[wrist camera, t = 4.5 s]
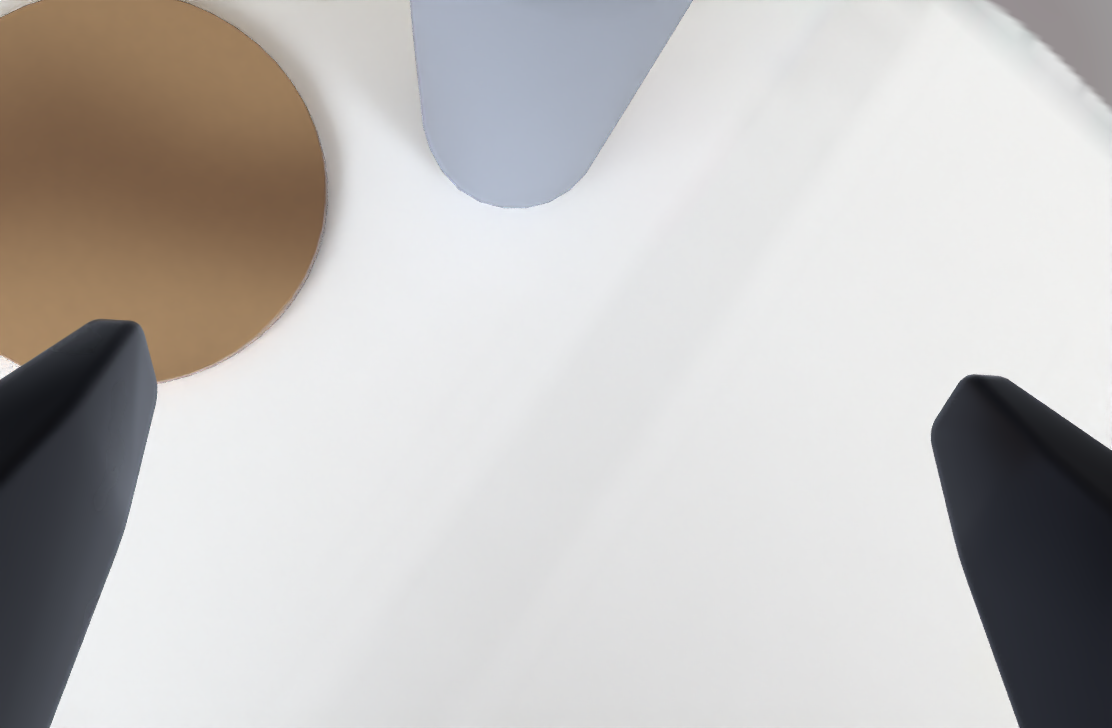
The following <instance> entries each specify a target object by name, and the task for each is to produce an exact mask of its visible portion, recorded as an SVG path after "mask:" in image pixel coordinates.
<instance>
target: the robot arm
mask: <svg viewBox="0 0 1112 728" xmlns="http://www.w3.org/2000/svg"><path fill="white" fill-rule="evenodd" d="M156 400H157V380H156V376H155V372H154V368H153V364H152V360H151V357H150V353H149V349H148V345H147V341H146V338H145V334H144V331H143V329H142V328H141V326H140V325H139V324H138V323H136V322H134V321H130V320H114V319H95V320H92V321H90V322H88V323H86V324H85V325H83V326H82V327H80V328H79V329H77V330H76V331H74V332H73V333H71V334H70V335H68V336H66V337H65V338H63V339H62V340H60V341H59V342H57V343H56V344H54V345H53V346H51V347H50V348H48V349H47V350H45V351H43V352H42V353H40V354H39V355H37V356H36V357H34V358H33V359H31V360H30V361H28V362H27V363H25V364H24V365H22V366H21V367H19V368H17V369H16V370H14V371H13V372H11V373H10V374H8V375H7V376H5V377H4V378H2V379H1V380H0V728H50V725H51V723H52V720H53V717H54V715H55V712H56V710H57V707H58V704H59V702H60V699H61V696H62V694H63V691H64V689H65V686H66V683H67V681H68V678H69V676H70V673H71V670H72V668H73V665H74V663H75V660H76V657H77V655H78V652H79V650H80V647H81V644H82V642H83V639H84V636H85V634H86V631H87V629H88V626H89V623H90V621H91V618H92V616H93V613H94V610H95V608H96V605H97V603H98V600H99V597H100V595H101V592H102V590H103V587H104V584H105V582H106V579H107V576H108V574H109V571H110V569H111V566H112V563H113V561H114V558H115V556H116V553H117V550H118V547H119V544H120V542H121V539H122V536H123V533H124V530H125V526H126V523H127V519H128V515H129V511H130V508H131V503H132V499H133V495H134V491H135V487H136V483H137V479H138V475H139V471H140V467H141V462H142V458H143V454H144V450H145V446H146V442H147V438H148V434H149V430H150V426H151V421H152V417H153V413H154V409H155V405H156ZM931 444H932V448H933V452H934V457H935V461H936V465H937V469H938V473H939V478H940V482H941V486H942V490H943V494H944V498H945V503H946V507H947V511H948V515H949V519H950V523H951V528H952V532H953V536H954V540H955V544H956V547H957V551H958V555H959V558H960V561H961V564H962V567H963V570H964V573H965V577H966V579H967V582H968V585H969V588H970V591H971V593H972V596H973V599H974V602H975V605H976V607H977V610H978V613H979V616H980V619H981V621H982V624H983V627H984V630H985V633H986V635H987V638H988V641H989V644H990V647H991V649H992V652H993V655H994V658H995V661H996V663H997V666H998V669H999V672H1000V674H1001V677H1002V680H1003V683H1004V686H1005V688H1006V691H1007V694H1008V697H1009V700H1010V702H1011V705H1012V708H1013V711H1014V714H1015V716H1016V719H1017V722H1018V725H1019V728H1112V451H1111V450H1110V449H1109V448H1107V447H1106V446H1104V445H1103V444H1101V443H1100V442H1098V441H1097V440H1095V439H1094V438H1093V437H1091V436H1090V435H1088V434H1087V433H1085V432H1084V431H1082V430H1081V429H1079V428H1078V427H1077V426H1075V425H1074V424H1072V423H1071V422H1069V421H1068V420H1066V419H1065V418H1064V417H1062V416H1061V415H1059V414H1058V413H1056V412H1055V411H1053V410H1052V409H1050V408H1049V407H1048V406H1046V405H1045V404H1043V403H1042V402H1040V401H1039V400H1037V399H1036V398H1034V397H1033V396H1032V395H1030V394H1029V393H1027V392H1026V391H1024V390H1023V389H1021V388H1020V387H1018V386H1017V385H1016V384H1014V383H1013V382H1011V381H1010V380H1008V379H1006V378H1004V377H1001V376H991V375H976V374H974V375H968V376H966V377H965V378H963V379H962V380H961V381H960V382H959V383H958V385H957V386H956V388H955V389H954V391H953V392H952V394H951V396H950V397H949V399H948V400H947V402H946V403H945V405H944V407H943V408H942V410H941V411H940V413H939V414H938V416H937V418H936V419H935V421H934V423H933V426H932V430H931Z"/></svg>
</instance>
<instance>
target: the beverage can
mask: <svg viewBox="0 0 1112 728" xmlns="http://www.w3.org/2000/svg"><path fill="white" fill-rule="evenodd" d="M692 1H693V0H410V7H411V18H412V29H413V39H414V48H415V57H416V66H417V75H418V83H419V92H420V102H421V111H422V121H423V128H424V131H425V134H426V137H427V141H428V144H429V147H430V150H431V152H432V154H433V155H434V157H435V159H436V161H437V163H438V165H439V166H440V168H441V170H442V172H443V173H444V174H445V175H446V176H447V177H448V178H449V179H450V180H451V181H452V183H453V184H454V185H455V186H456V187H457V188H458V189H459V190H461V191H462V192H464V193H466V194H467V195H469V196H471V197H473V198H474V199H476V200H478V201H479V202H483V203H486V204H490V205H494V206H498V207H501V208H529V207H532V206H536V205H540V204H544V203H547V202H550V201H552V200H554V199H556V198H557V197H559V196H561V195H562V194H564V193H566V192H567V191H569V190H570V189H571V188H572V187H573V186H574V185H575V184H576V183H577V182H578V181H579V180H580V179H581V178H582V177H583V176H584V175H585V174H586V173H587V171H588V169H589V168H590V166H591V164H592V163H593V161H594V160H595V158H596V156H597V155H598V153H599V152H600V150H601V148H602V147H603V145H604V143H605V142H606V140H607V139H608V137H609V135H610V134H611V132H612V130H613V129H614V127H615V126H616V124H617V122H618V121H619V119H620V118H621V116H622V114H623V113H624V111H625V109H626V108H627V106H628V105H629V103H630V101H631V100H632V98H633V96H634V95H635V93H636V92H637V90H638V88H639V87H640V85H641V84H642V82H643V80H644V79H645V77H646V75H647V74H648V72H649V71H650V69H651V67H652V66H653V64H654V63H655V61H656V59H657V58H658V56H659V54H660V53H661V51H662V50H663V48H664V46H665V45H666V43H667V41H668V40H669V38H670V37H671V35H672V33H673V32H674V30H675V29H676V27H677V25H678V24H679V22H680V20H681V19H682V17H683V16H684V14H685V12H686V11H687V9H688V7H689V6H690V4H691V3H692Z"/></svg>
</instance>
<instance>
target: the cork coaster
mask: <svg viewBox="0 0 1112 728" xmlns="http://www.w3.org/2000/svg"><path fill="white" fill-rule="evenodd" d="M327 206H328V180H327V173H326V166H325V159H324V154H323V150H322V147H321V143H320V140H319V136H318V132H317V130H316V128H315V125H314V123H313V121H312V118H311V116H310V114H309V111H308V109H307V107H306V105H305V103H304V101H303V100H302V98H301V96H300V95H299V93H298V91H297V90H296V88H295V86H294V85H293V83H292V82H291V80H290V79H289V78H288V77H287V75H286V74H285V73H284V71H283V70H282V69H281V68H280V66H279V65H278V64H277V62H276V61H275V60H273V59H272V58H271V57H270V56H269V55H268V54H267V53H266V52H265V51H264V50H263V49H262V48H261V47H260V46H259V45H258V44H257V43H256V42H255V41H253V40H252V39H251V38H249V37H248V36H247V35H245V34H244V33H243V32H242V31H240V30H239V29H238V28H236V27H234V26H233V25H231V24H229V23H228V22H226V21H224V20H223V19H221V18H219V17H217V16H216V15H214V14H212V13H210V12H207V11H205V10H203V9H200V8H198V7H196V6H194V5H191V4H189V3H186V2H182V1H179V0H41V1H38V2H35V3H32V4H29V5H26V6H24V7H22V8H20V9H17V10H15V11H13V12H11V13H9V14H7V15H5V16H3V17H1V18H0V355H1V356H3V357H5V358H7V359H9V360H11V361H12V362H14V363H16V364H18V365H20V366H22V365H24V364H25V363H27V362H28V361H30V360H31V359H33V358H34V357H36V356H37V355H39V354H40V353H42V352H43V351H45V350H47V349H48V348H50V347H51V346H53V345H54V344H56V343H57V342H59V341H60V340H62V339H63V338H65V337H66V336H68V335H70V334H71V333H73V332H74V331H76V330H77V329H79V328H80V327H82V326H83V325H85V324H86V323H88V322H90V321H92V320H95V319H114V320H130V321H134V322H136V323H138V324H139V325H140V326H141V328H142V329H143V331H144V334H145V338H146V341H147V345H148V349H149V353H150V357H151V360H152V364H153V368H154V372H155V376H156V380H157V383H164V382H168V381H172V380H175V379H179V378H183V377H187V376H191V375H193V374H196V373H198V372H201V371H203V370H205V369H208V368H210V367H213V366H215V365H217V364H219V363H221V362H223V361H224V360H226V359H228V358H230V357H232V356H233V355H235V354H237V353H239V352H240V351H242V350H243V349H244V348H246V347H247V346H248V345H250V344H251V343H252V342H254V341H255V340H256V339H258V338H259V337H260V336H261V335H262V334H263V333H265V332H266V331H267V330H268V329H269V328H270V327H271V326H272V325H273V324H274V323H275V322H276V321H277V320H278V319H279V318H280V317H281V315H282V314H283V313H284V312H285V310H286V309H287V308H288V307H289V305H290V304H291V303H292V302H293V300H294V299H295V298H296V296H297V294H298V293H299V291H300V289H301V288H302V286H303V284H304V283H305V281H306V279H307V278H308V275H309V273H310V271H311V268H312V266H313V264H314V261H315V259H316V257H317V254H318V251H319V247H320V244H321V240H322V237H323V233H324V229H325V221H326V214H327Z"/></svg>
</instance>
